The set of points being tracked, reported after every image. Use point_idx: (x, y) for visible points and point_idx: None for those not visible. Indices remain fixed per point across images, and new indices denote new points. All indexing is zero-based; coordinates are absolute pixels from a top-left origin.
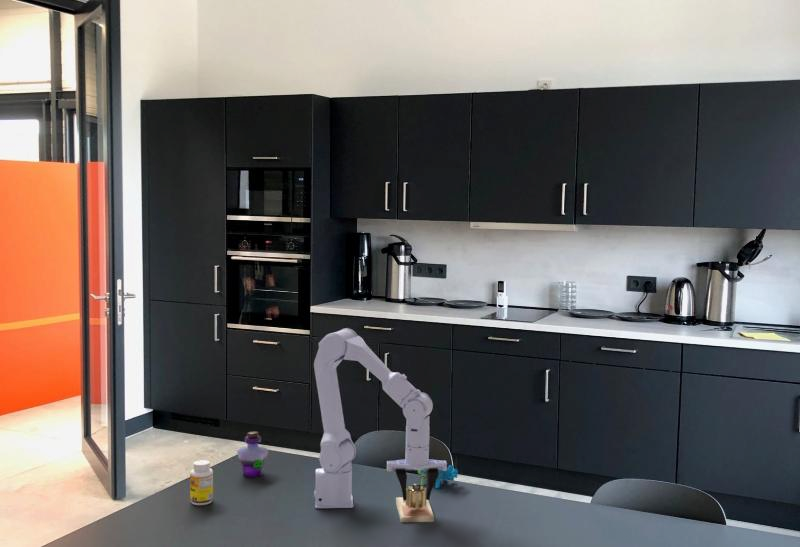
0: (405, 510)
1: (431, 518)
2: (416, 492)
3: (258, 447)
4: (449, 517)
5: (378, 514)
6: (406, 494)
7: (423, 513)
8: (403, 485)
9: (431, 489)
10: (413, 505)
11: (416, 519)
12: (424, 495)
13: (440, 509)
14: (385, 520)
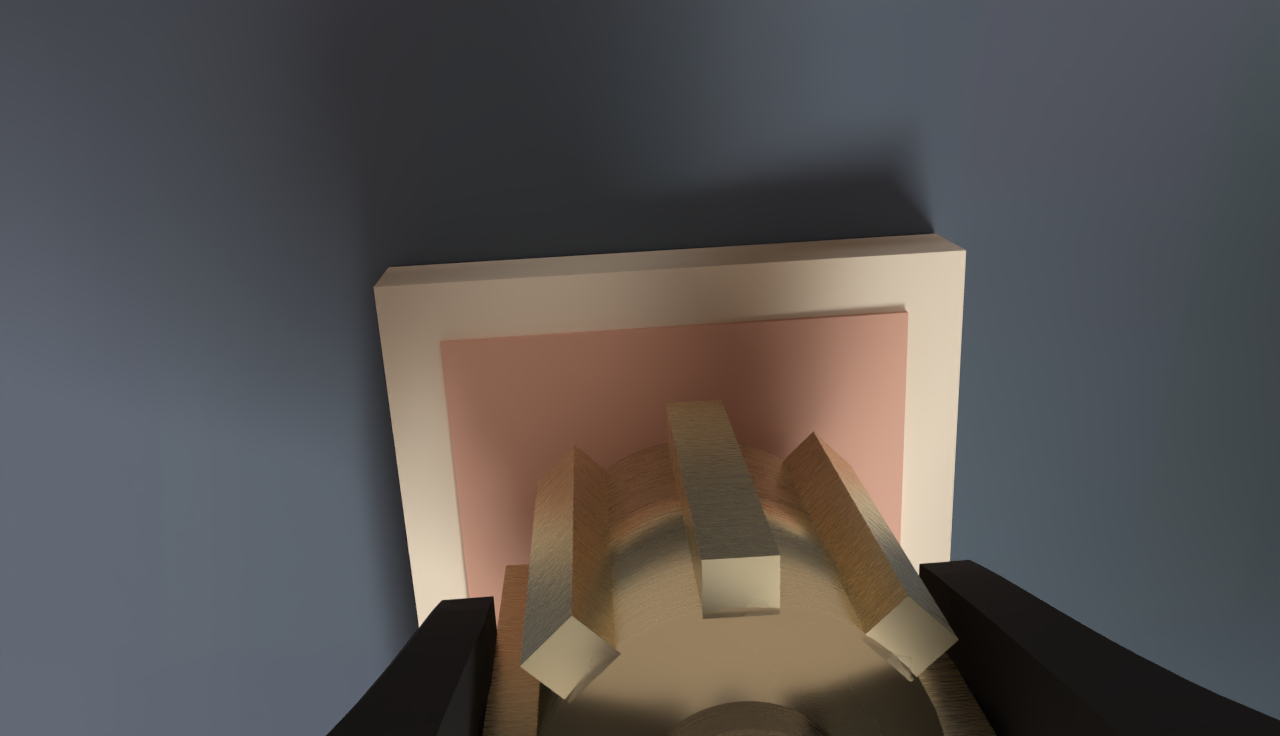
0: None
1: (426, 279)
2: (764, 579)
3: None
4: (129, 445)
5: (1220, 519)
6: (948, 667)
7: (560, 409)
8: (1194, 722)
9: (342, 721)
10: (762, 468)
11: (688, 257)
12: (542, 591)
13: (281, 726)
14: (1162, 304)
